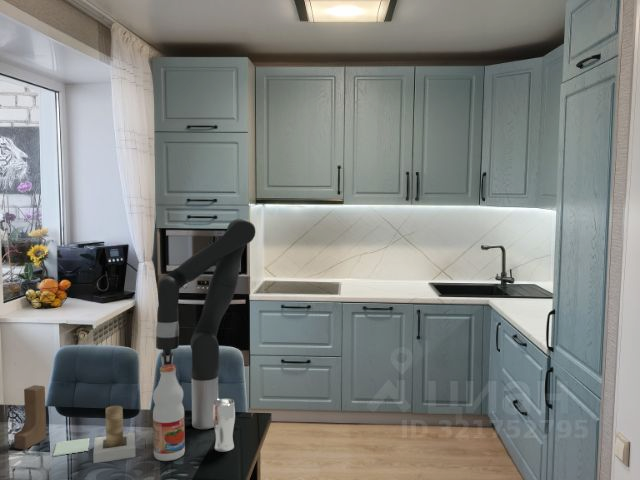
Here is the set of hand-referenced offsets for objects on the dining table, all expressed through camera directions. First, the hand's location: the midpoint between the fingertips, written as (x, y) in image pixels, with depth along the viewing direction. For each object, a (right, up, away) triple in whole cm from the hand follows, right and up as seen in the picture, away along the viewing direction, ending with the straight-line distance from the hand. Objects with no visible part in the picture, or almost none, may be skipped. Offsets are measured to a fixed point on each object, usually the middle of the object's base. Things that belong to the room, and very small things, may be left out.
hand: (166, 381), depth 186 cm
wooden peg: (-12, -18, -16) cm, 27 cm away
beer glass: (+22, -18, -13) cm, 31 cm away
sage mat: (-27, -18, -13) cm, 35 cm away
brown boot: (-42, -18, -10) cm, 47 cm away
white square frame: (-12, -18, -16) cm, 27 cm away
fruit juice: (+6, -19, -18) cm, 26 cm away
